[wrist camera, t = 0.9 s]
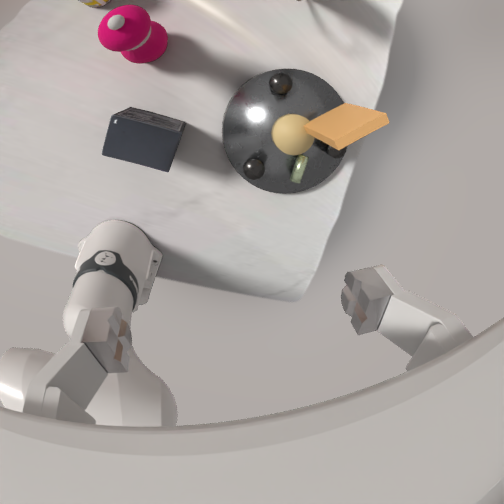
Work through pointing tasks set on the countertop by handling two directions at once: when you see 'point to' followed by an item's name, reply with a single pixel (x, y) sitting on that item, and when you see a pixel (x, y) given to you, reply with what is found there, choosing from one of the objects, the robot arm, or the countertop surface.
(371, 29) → the countertop surface
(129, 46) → the pepper mill
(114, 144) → the small box
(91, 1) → the supplement bottle
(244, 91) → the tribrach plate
